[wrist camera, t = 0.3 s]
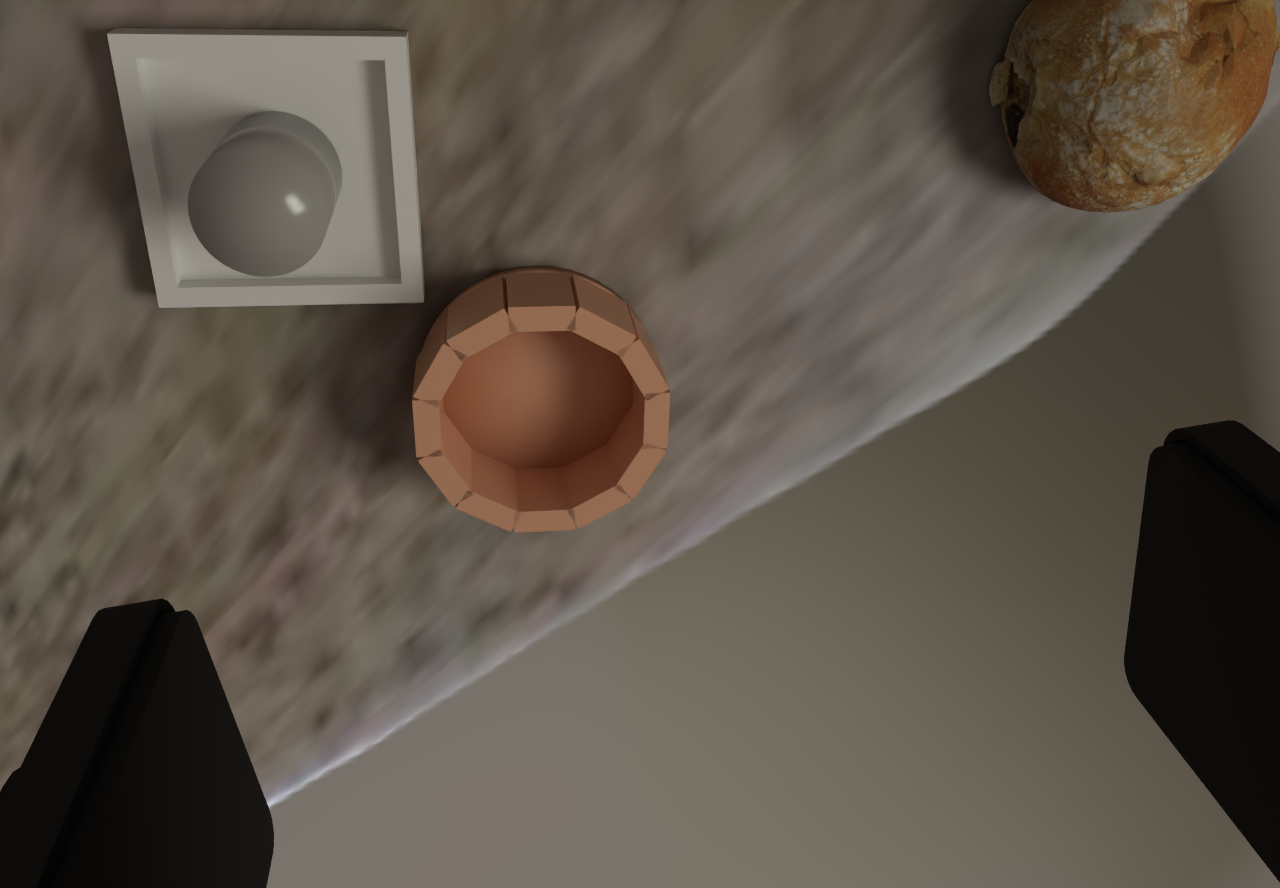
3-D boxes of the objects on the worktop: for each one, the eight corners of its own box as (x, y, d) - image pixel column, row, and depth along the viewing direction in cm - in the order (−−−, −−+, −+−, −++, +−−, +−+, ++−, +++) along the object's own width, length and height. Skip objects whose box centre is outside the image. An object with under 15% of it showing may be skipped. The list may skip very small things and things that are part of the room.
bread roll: (973, -37, 46) (960, 28, 40) (1259, -128, 41) (1294, -71, 35) (1022, 183, 50) (1017, 270, 44) (1282, 123, 46) (1316, 211, 40)
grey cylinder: (208, 110, 41) (177, 146, 36) (336, 111, 41) (320, 146, 37) (226, 230, 43) (199, 277, 38) (347, 229, 43) (334, 275, 39)
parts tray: (116, 27, 39) (107, 33, 38) (407, 31, 41) (406, 36, 39) (166, 296, 44) (158, 307, 43) (425, 291, 45) (423, 302, 44)
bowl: (410, 267, 45) (405, 309, 41) (658, 264, 46) (674, 303, 42) (426, 482, 50) (422, 536, 46) (649, 473, 51) (663, 525, 47)
